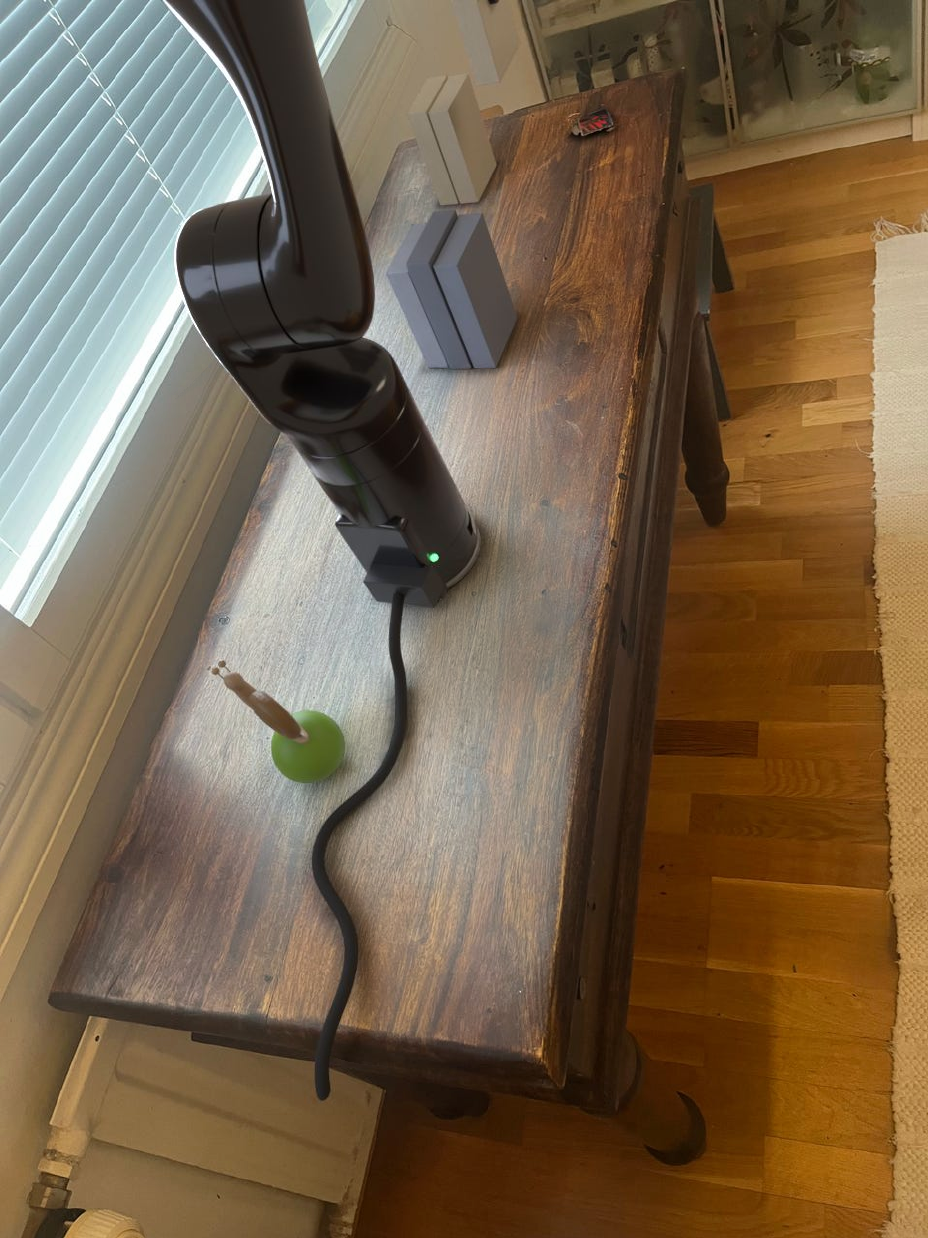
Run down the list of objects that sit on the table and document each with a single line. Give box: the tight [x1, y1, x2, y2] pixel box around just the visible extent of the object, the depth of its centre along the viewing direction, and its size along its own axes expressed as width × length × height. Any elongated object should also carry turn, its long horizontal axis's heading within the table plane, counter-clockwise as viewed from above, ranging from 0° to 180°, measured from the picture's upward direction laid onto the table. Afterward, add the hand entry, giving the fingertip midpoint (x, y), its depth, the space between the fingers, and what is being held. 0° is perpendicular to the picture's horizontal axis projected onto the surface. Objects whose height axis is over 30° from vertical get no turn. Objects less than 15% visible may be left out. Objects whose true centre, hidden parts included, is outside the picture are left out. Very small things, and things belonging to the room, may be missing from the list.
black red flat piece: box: [570, 108, 618, 137], centre depth 108 cm, size 5×5×1 cm
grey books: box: [385, 209, 518, 370], centre depth 89 cm, size 7×8×12 cm
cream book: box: [450, 0, 521, 87], centre depth 90 cm, size 7×3×11 cm, turn 160°
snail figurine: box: [211, 659, 346, 785], centre depth 67 cm, size 5×6×12 cm
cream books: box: [406, 72, 497, 207], centre depth 106 cm, size 7×5×11 cm
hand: (481, 1), depth 90 cm, fingers closed on cream book, 2 cm apart
